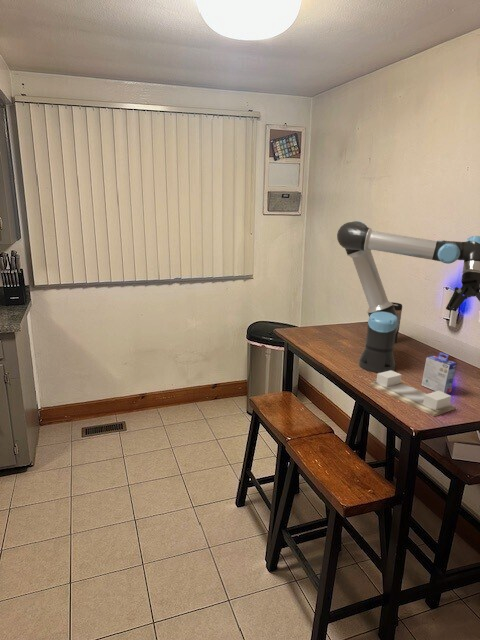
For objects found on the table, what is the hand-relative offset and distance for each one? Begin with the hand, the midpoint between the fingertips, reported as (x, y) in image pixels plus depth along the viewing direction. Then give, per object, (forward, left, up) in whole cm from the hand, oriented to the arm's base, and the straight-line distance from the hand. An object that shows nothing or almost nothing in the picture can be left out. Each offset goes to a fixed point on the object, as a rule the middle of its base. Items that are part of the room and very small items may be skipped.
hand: (466, 325), depth 172 cm
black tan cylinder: (-29, +44, -25) cm, 58 cm away
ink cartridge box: (-7, -11, -25) cm, 28 cm away
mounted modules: (-16, -24, -23) cm, 37 cm away
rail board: (-16, -24, -24) cm, 38 cm away
